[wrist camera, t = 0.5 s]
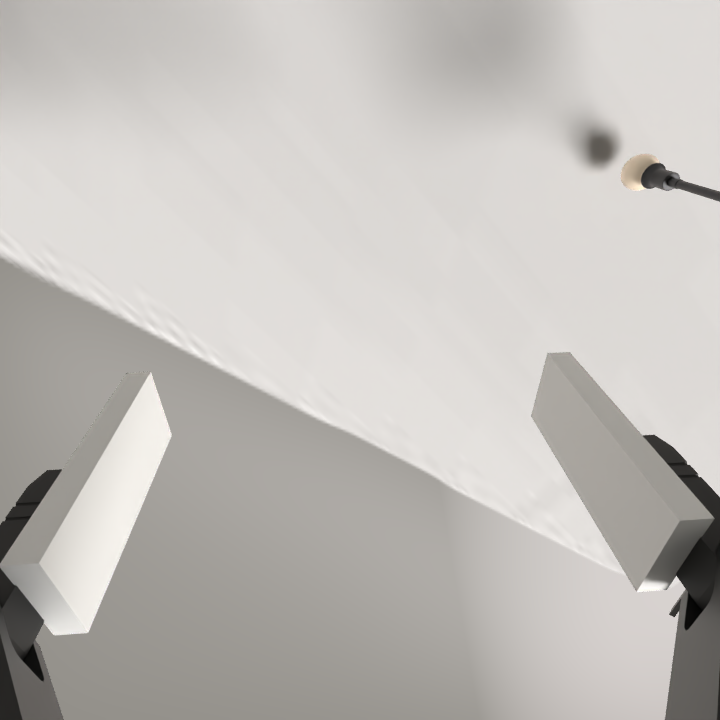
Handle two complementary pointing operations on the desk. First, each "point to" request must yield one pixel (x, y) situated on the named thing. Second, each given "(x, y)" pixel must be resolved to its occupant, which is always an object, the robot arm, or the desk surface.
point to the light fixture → (658, 177)
